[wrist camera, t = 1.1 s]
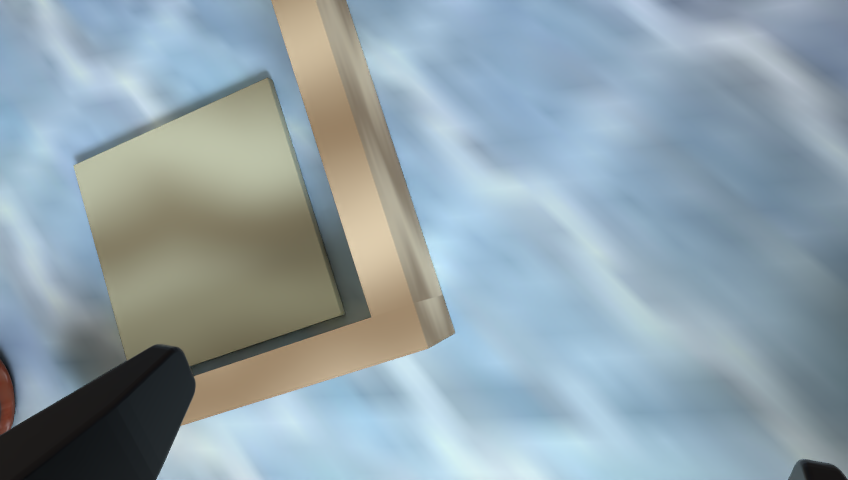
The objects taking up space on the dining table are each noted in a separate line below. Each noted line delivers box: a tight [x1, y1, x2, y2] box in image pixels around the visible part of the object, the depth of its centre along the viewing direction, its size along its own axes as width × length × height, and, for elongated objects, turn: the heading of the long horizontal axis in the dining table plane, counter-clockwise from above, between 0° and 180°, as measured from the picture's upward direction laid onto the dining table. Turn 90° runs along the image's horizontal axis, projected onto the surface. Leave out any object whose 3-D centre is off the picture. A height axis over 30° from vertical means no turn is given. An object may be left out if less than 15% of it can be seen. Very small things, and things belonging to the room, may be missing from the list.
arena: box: [73, 0, 455, 426], centre depth 25 cm, size 14×16×4 cm
